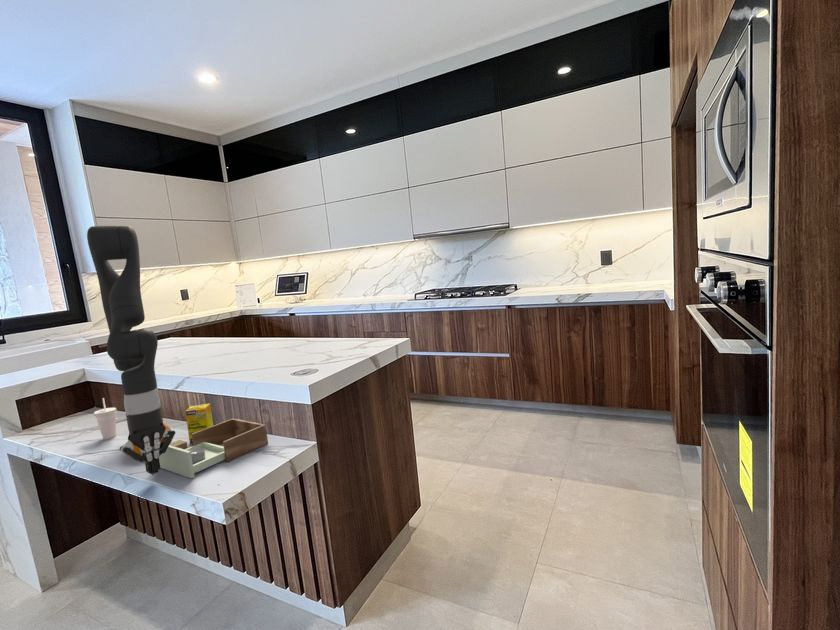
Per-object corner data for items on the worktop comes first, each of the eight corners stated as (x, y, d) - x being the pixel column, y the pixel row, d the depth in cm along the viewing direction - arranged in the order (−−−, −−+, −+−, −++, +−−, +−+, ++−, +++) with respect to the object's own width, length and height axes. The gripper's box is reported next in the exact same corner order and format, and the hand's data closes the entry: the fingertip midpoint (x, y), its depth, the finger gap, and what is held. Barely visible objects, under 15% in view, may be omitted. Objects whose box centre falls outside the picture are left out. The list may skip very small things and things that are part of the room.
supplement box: (189, 444, 134) (184, 411, 133) (195, 437, 140) (190, 405, 139) (209, 441, 135) (204, 408, 134) (214, 434, 141) (210, 402, 140)
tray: (158, 466, 118) (154, 442, 117) (202, 448, 129) (199, 426, 128) (191, 478, 109) (187, 452, 108) (236, 457, 120) (232, 434, 119)
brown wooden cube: (167, 457, 125) (165, 445, 124) (181, 452, 128) (179, 439, 128) (175, 460, 123) (173, 447, 122) (188, 454, 126) (186, 441, 125)
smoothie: (121, 432, 152) (114, 394, 150) (120, 437, 147) (113, 398, 145) (99, 437, 149) (92, 398, 147) (97, 442, 143) (90, 402, 142)
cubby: (194, 453, 127) (191, 433, 126) (235, 435, 138) (232, 418, 137) (227, 462, 118) (224, 442, 117) (268, 443, 129) (265, 424, 128)
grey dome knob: (197, 454, 122) (196, 446, 122) (209, 458, 119) (208, 449, 119) (176, 463, 117) (175, 455, 117) (188, 467, 114) (187, 458, 113)
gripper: (162, 399, 115) (172, 459, 117) (106, 415, 104) (118, 482, 106) (177, 401, 111) (187, 464, 113) (120, 418, 100) (132, 488, 102)
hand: (153, 472), depth 109 cm, fingers closed
